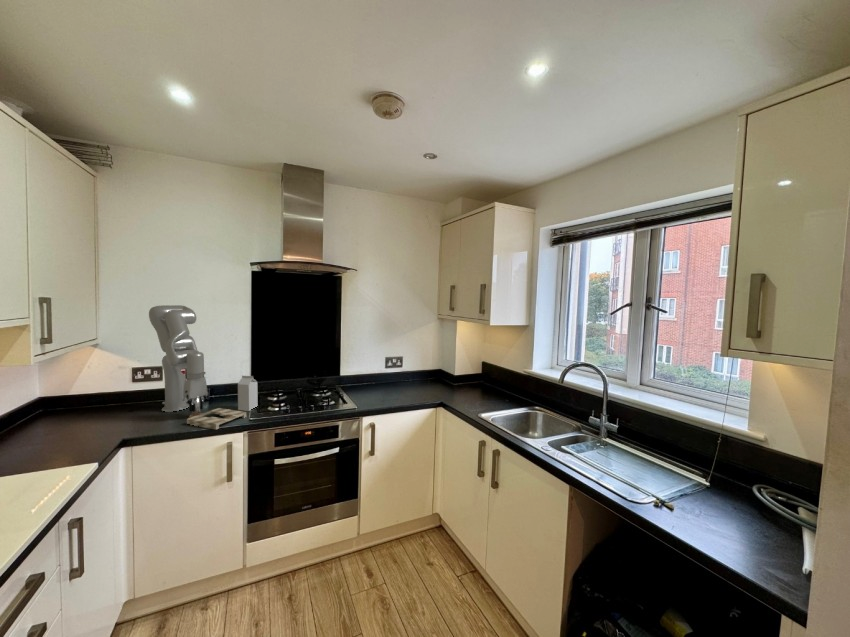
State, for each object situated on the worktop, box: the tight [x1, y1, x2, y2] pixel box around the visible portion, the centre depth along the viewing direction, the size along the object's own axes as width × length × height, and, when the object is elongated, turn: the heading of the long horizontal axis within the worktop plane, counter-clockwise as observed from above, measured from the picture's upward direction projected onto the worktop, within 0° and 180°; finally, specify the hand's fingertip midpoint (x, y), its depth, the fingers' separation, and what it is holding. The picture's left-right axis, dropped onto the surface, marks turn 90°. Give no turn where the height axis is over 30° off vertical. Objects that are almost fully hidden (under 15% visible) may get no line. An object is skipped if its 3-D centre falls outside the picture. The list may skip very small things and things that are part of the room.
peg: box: [188, 397, 204, 418], centre depth 178 cm, size 6×6×11 cm
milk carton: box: [237, 375, 259, 412], centre depth 192 cm, size 7×7×19 cm
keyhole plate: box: [186, 407, 247, 430], centre depth 173 cm, size 19×18×3 cm
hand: (196, 409), depth 178 cm, fingers closed on peg, 3 cm apart
